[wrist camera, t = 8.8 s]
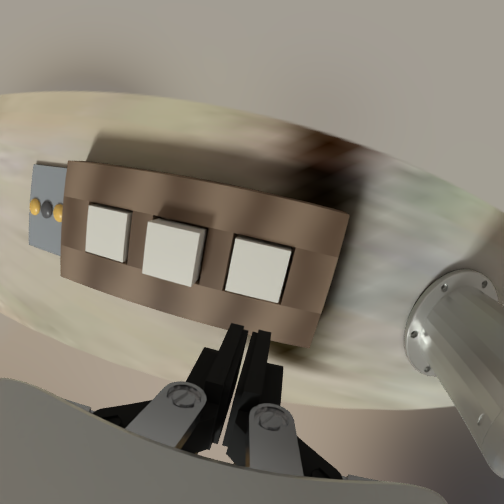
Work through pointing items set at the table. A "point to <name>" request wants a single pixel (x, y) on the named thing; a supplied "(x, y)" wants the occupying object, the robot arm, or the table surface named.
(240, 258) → the button
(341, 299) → the table surface
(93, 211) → the button
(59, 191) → the card
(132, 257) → the button board
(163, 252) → the button middle
